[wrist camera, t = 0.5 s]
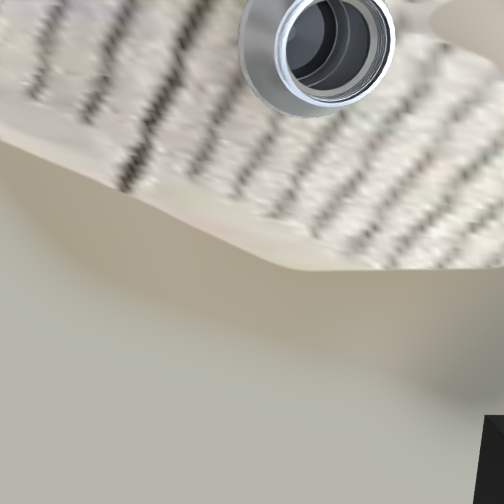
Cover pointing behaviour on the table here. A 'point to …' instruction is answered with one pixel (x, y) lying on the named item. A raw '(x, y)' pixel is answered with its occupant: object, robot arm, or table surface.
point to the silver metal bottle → (314, 52)
